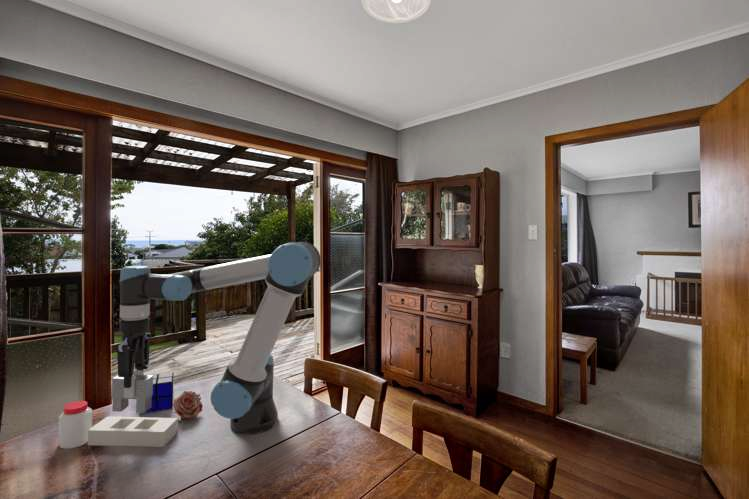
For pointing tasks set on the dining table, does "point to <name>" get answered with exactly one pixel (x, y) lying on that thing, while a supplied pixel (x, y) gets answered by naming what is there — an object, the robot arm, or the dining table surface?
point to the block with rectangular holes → (133, 431)
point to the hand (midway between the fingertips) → (133, 393)
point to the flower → (188, 405)
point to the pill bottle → (74, 424)
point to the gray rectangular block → (141, 393)
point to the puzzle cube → (162, 392)
